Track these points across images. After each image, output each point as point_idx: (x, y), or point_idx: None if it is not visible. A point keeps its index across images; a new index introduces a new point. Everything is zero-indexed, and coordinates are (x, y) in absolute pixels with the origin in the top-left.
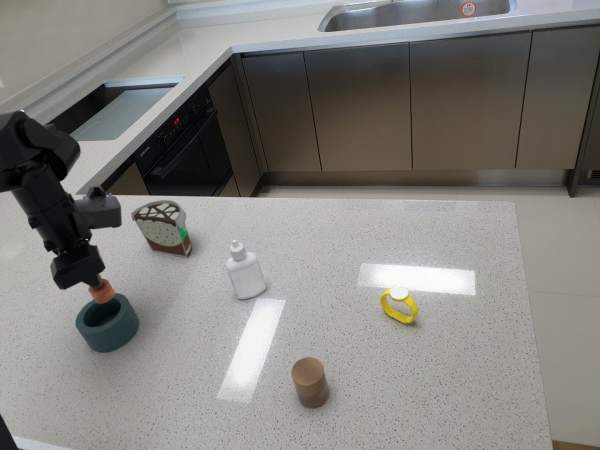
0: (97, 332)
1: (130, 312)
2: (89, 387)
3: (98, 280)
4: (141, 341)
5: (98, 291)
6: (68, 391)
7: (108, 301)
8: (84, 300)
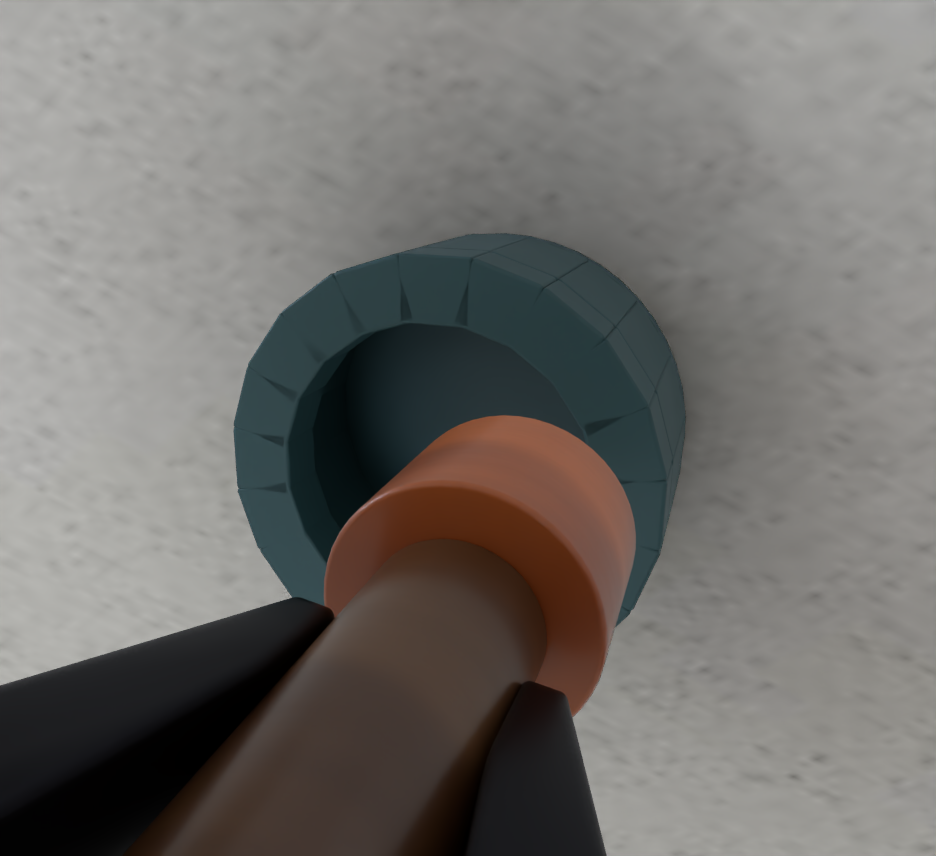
0: (617, 622)
1: (591, 304)
2: (799, 740)
3: (578, 749)
4: (773, 340)
5: (582, 689)
6: (705, 810)
7: (329, 371)
8: (89, 400)
